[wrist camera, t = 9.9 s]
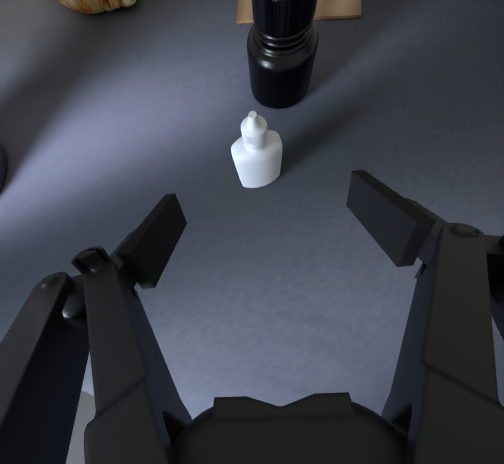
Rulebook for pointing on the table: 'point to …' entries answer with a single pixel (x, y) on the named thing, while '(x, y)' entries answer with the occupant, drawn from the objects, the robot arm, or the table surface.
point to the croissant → (96, 5)
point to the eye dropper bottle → (257, 152)
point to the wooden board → (328, 7)
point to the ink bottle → (281, 50)
